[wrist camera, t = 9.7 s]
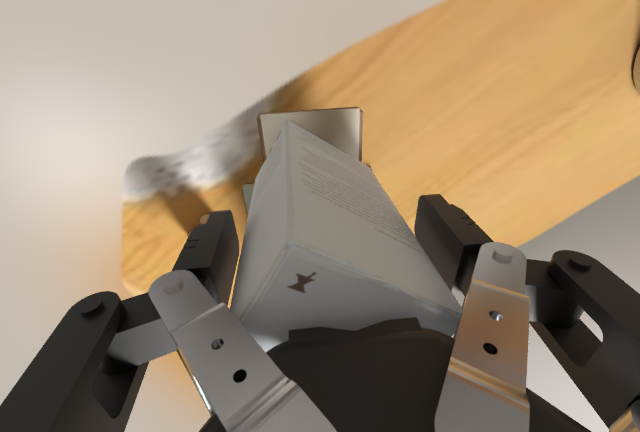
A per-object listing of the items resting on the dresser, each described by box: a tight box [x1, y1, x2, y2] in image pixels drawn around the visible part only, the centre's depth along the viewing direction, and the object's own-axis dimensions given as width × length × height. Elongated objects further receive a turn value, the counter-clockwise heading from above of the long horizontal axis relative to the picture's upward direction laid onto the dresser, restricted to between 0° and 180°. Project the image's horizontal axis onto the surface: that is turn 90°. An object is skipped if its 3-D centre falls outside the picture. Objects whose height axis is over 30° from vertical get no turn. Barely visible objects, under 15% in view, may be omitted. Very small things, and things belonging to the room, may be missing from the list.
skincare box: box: [230, 120, 462, 352], centre depth 13 cm, size 6×4×12 cm
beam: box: [257, 107, 363, 162], centre depth 23 cm, size 7×23×5 cm, turn 3°
